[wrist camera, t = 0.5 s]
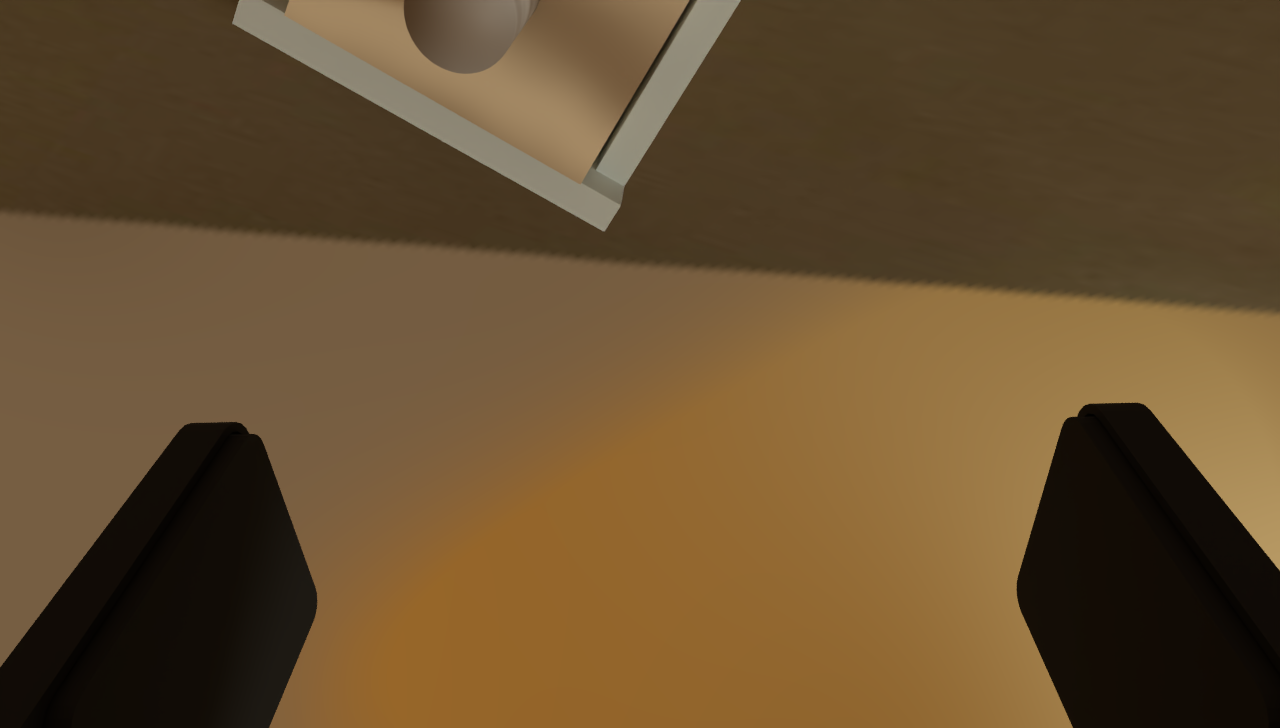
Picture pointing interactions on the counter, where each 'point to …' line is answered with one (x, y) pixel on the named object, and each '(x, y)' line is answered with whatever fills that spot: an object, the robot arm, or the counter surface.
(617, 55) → the wooden block with knob
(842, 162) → the counter surface
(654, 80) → the bay
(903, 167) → the counter surface
